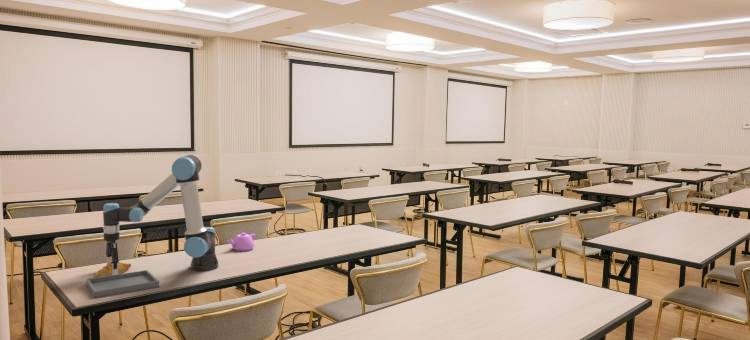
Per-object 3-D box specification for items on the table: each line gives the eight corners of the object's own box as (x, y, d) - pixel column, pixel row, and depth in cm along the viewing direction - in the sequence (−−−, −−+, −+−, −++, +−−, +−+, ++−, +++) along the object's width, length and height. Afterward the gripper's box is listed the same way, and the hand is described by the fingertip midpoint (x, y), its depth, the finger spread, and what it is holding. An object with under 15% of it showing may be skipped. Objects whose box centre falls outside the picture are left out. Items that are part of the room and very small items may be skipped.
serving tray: (147, 275, 279) (147, 269, 278) (159, 286, 261) (159, 281, 261) (86, 284, 261) (86, 279, 261) (94, 297, 244) (94, 291, 243)
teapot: (222, 249, 335) (222, 233, 334) (249, 244, 350) (249, 229, 349) (234, 254, 326) (234, 237, 325) (261, 248, 340) (261, 232, 339)
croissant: (98, 286, 270) (102, 274, 267) (86, 274, 273) (90, 262, 270) (133, 275, 288) (137, 263, 286) (122, 264, 292) (126, 253, 289)
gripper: (99, 228, 285) (100, 267, 287) (108, 237, 266) (109, 278, 268) (114, 227, 289) (115, 264, 292) (124, 236, 270) (125, 276, 273)
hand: (112, 271), depth 280 cm, fingers open, 12 cm apart
